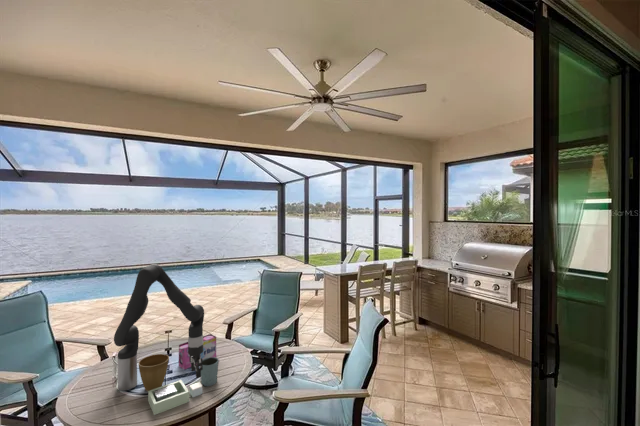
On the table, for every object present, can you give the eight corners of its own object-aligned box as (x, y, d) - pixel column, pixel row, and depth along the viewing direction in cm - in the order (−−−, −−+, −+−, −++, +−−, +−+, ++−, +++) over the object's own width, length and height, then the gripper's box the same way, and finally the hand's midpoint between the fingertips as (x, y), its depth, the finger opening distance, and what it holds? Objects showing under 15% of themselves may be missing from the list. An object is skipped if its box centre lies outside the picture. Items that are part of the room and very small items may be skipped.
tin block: (154, 402, 153) (154, 391, 153) (173, 395, 159) (173, 384, 159) (157, 409, 147) (157, 397, 147) (176, 402, 153) (176, 390, 153)
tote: (148, 402, 154) (148, 390, 154) (181, 390, 164) (181, 379, 164) (154, 416, 143) (154, 404, 143) (189, 403, 154) (189, 391, 154)
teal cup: (200, 388, 167) (200, 367, 167) (199, 379, 176) (199, 358, 176) (219, 384, 171) (219, 363, 171) (217, 375, 180) (217, 355, 180)
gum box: (182, 371, 185) (182, 349, 185) (176, 366, 190) (176, 345, 190) (216, 356, 204) (216, 336, 204) (210, 353, 209) (210, 333, 209)
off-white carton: (189, 394, 161) (189, 385, 161) (199, 391, 164) (199, 381, 164) (192, 399, 157) (192, 389, 157) (202, 395, 160) (202, 386, 160)
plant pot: (163, 395, 160) (163, 365, 161) (133, 398, 158) (133, 367, 158) (172, 380, 175) (172, 352, 175) (145, 382, 173) (145, 354, 173)
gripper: (184, 341, 164) (184, 371, 164) (192, 350, 153) (192, 382, 153) (198, 337, 168) (198, 366, 168) (207, 346, 158) (207, 377, 157)
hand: (195, 374), depth 160 cm, fingers open, 8 cm apart
